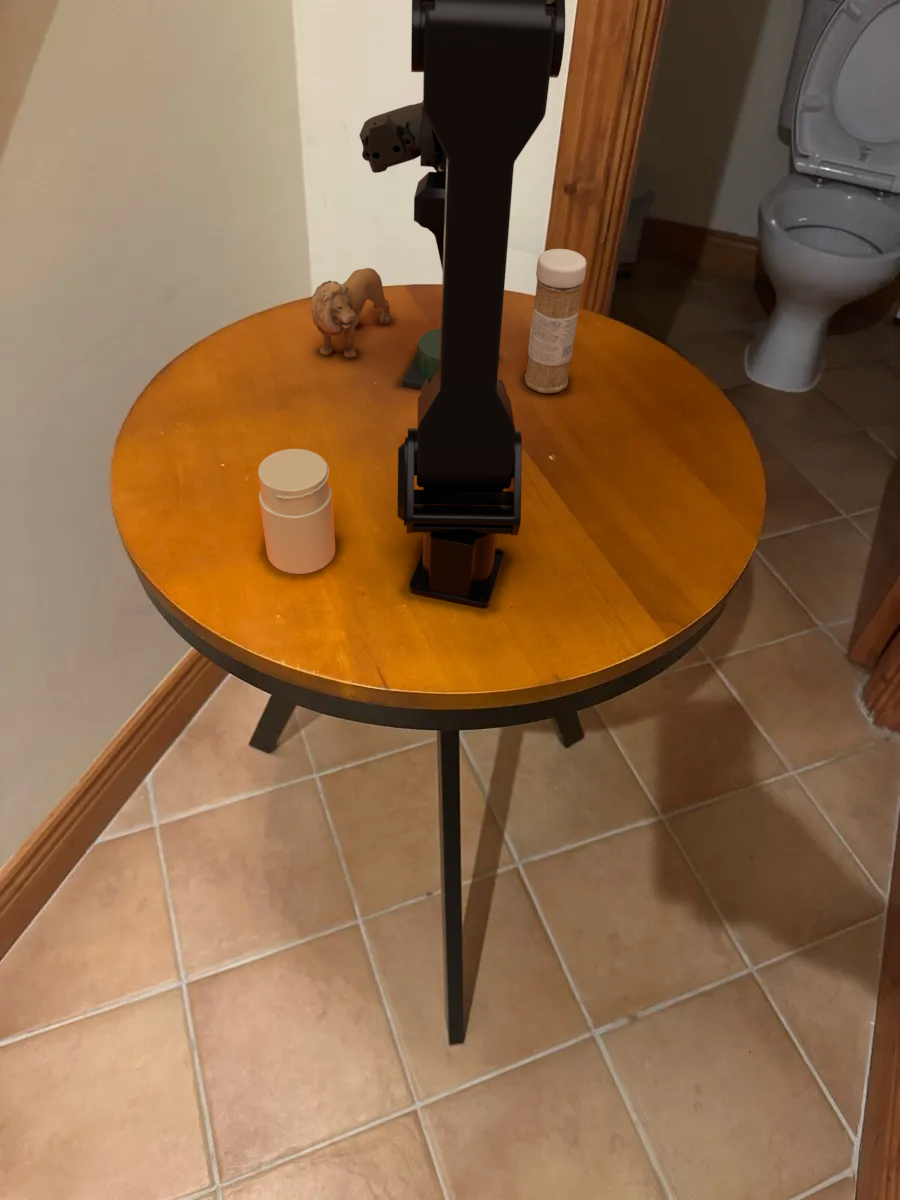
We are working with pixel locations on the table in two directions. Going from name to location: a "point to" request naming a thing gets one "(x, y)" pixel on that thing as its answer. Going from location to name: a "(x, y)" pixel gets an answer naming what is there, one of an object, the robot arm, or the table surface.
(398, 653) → the table surface
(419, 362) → the lid
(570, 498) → the table surface
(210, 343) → the table surface
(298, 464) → the jar
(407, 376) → the coaster
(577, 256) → the spice bottle
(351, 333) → the lion figurine
